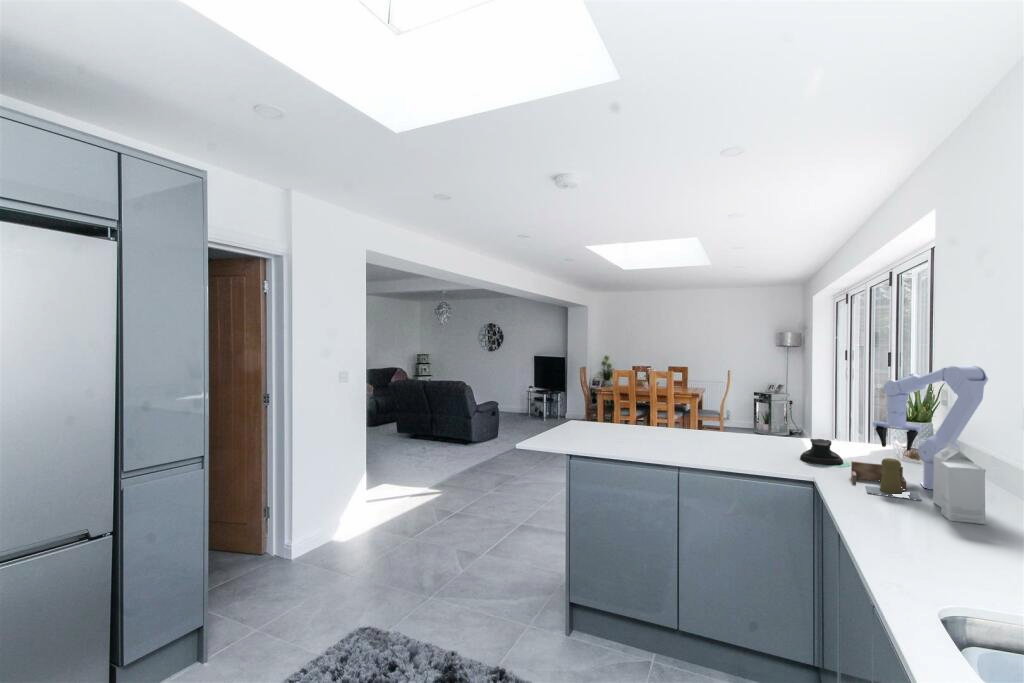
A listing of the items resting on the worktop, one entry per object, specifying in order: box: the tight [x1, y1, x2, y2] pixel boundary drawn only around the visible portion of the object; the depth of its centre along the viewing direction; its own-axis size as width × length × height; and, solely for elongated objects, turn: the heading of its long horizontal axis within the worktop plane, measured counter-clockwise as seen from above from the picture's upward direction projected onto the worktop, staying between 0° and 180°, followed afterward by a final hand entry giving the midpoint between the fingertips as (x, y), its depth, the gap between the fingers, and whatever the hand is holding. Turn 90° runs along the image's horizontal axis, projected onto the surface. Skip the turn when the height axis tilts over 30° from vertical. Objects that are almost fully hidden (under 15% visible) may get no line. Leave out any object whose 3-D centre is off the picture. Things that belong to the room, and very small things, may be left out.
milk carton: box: [932, 443, 975, 508], centre depth 151 cm, size 7×7×19 cm
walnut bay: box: [850, 461, 907, 490], centre depth 177 cm, size 15×10×6 cm, turn 58°
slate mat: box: [865, 485, 923, 501], centre depth 165 cm, size 14×9×1 cm, turn 58°
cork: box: [879, 457, 903, 494], centre depth 166 cm, size 6×6×11 cm
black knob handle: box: [799, 438, 851, 468], centre depth 210 cm, size 20×20×9 cm
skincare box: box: [940, 462, 986, 525], centre depth 141 cm, size 8×7×16 cm
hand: (896, 448), depth 187 cm, fingers open, 7 cm apart
